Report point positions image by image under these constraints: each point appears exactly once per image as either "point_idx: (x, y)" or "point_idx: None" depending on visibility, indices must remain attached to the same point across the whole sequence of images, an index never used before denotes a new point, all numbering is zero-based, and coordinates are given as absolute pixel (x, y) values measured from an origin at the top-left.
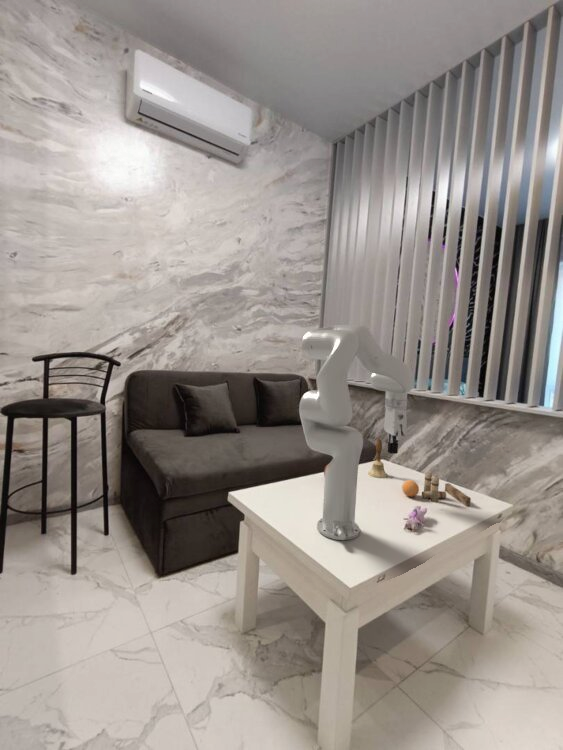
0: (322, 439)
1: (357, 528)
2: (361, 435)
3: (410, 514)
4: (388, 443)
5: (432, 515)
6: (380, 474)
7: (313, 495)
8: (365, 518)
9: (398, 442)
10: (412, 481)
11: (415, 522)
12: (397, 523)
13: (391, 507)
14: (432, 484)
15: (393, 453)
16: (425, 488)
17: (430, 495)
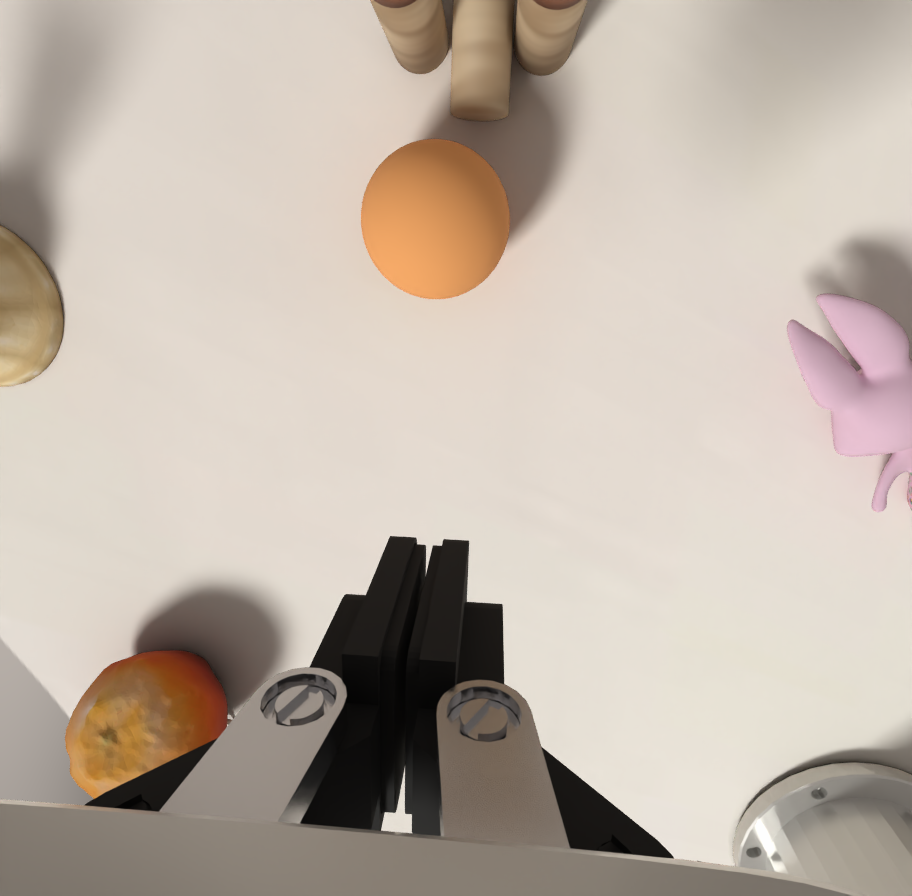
0: None
1: (903, 790)
2: None
3: (871, 455)
4: (384, 801)
5: (796, 223)
6: (26, 308)
7: None
8: (748, 681)
9: (530, 711)
10: (442, 205)
11: None
12: (848, 532)
13: (627, 470)
14: (567, 6)
15: (466, 599)
16: (423, 44)
17: (511, 48)
